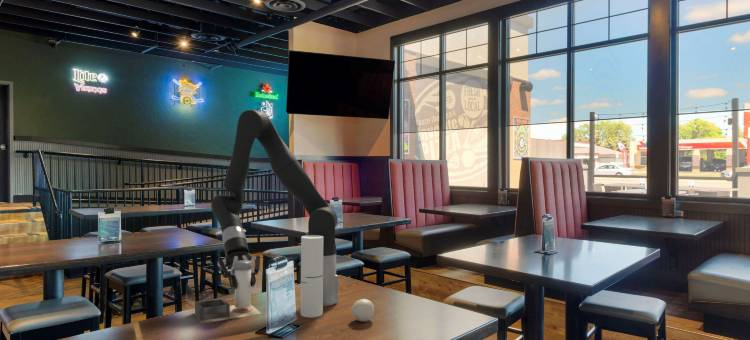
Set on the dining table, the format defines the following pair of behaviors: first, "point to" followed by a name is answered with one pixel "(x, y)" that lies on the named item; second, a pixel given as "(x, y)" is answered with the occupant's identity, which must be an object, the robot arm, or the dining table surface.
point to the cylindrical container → (311, 276)
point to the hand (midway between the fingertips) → (244, 286)
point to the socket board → (220, 310)
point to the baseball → (363, 310)
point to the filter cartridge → (243, 283)
